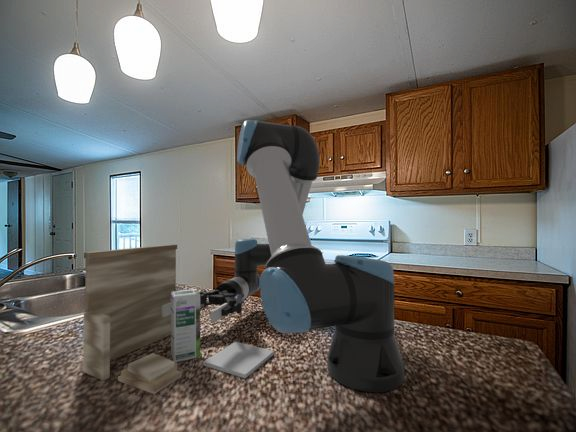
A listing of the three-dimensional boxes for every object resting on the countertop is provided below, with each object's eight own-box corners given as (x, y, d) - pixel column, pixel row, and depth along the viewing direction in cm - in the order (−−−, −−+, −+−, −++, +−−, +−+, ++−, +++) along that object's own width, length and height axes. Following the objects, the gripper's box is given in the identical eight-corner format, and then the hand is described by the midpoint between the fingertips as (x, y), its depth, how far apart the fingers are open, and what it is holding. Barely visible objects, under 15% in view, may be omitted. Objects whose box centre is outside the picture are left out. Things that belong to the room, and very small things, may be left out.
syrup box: (173, 364, 60) (173, 296, 60) (170, 352, 65) (170, 290, 65) (200, 357, 63) (200, 292, 63) (195, 347, 68) (195, 287, 68)
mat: (273, 354, 64) (273, 351, 64) (245, 378, 54) (245, 374, 54) (235, 344, 69) (235, 341, 69) (203, 365, 59) (203, 361, 59)
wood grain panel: (193, 336, 74) (193, 245, 74) (103, 380, 54) (104, 254, 54) (172, 331, 78) (172, 244, 78) (80, 370, 57) (81, 252, 58)
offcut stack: (183, 377, 56) (183, 358, 56) (154, 396, 50) (154, 376, 50) (148, 366, 60) (148, 349, 60) (117, 382, 54) (118, 364, 54)
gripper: (269, 308, 82) (234, 336, 61) (197, 300, 89) (144, 324, 69) (269, 282, 82) (234, 302, 62) (197, 277, 89) (144, 293, 69)
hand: (186, 314), depth 65 cm, fingers open, 13 cm apart
